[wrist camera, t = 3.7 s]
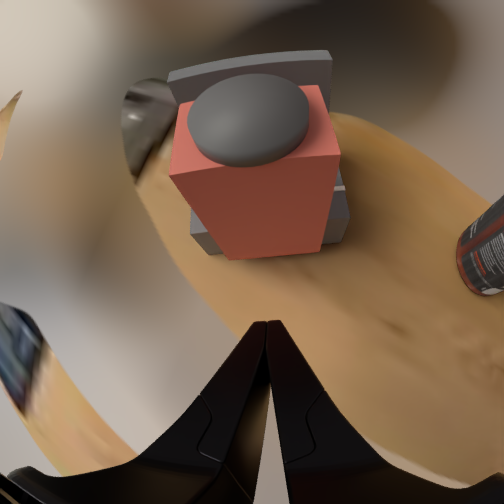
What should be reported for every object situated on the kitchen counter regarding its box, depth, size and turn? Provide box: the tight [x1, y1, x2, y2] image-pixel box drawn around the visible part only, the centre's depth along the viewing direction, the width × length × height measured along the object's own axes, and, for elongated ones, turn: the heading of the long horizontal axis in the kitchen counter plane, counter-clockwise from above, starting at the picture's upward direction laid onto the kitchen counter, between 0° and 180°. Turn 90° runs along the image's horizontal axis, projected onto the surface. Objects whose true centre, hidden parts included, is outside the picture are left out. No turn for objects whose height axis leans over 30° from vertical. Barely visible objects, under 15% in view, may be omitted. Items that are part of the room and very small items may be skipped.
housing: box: [167, 50, 351, 255], centre depth 17 cm, size 8×10×10 cm
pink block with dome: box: [169, 74, 341, 260], centre depth 14 cm, size 4×6×11 cm
